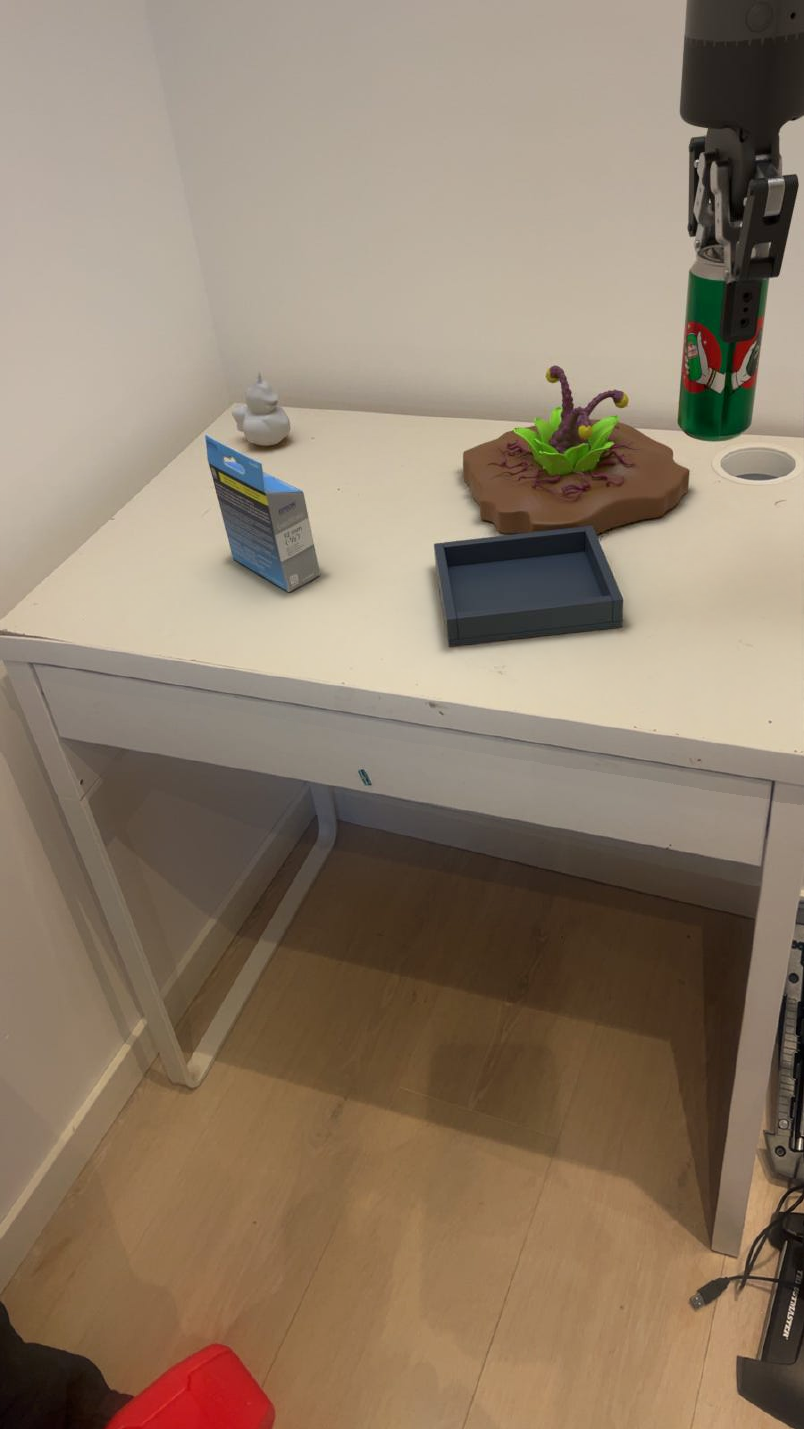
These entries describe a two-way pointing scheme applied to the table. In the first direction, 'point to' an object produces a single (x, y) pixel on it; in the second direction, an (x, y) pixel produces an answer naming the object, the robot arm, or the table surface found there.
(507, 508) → the plant
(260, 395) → the rubber duck
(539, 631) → the container
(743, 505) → the table surface
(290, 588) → the label tape box
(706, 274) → the soda can
